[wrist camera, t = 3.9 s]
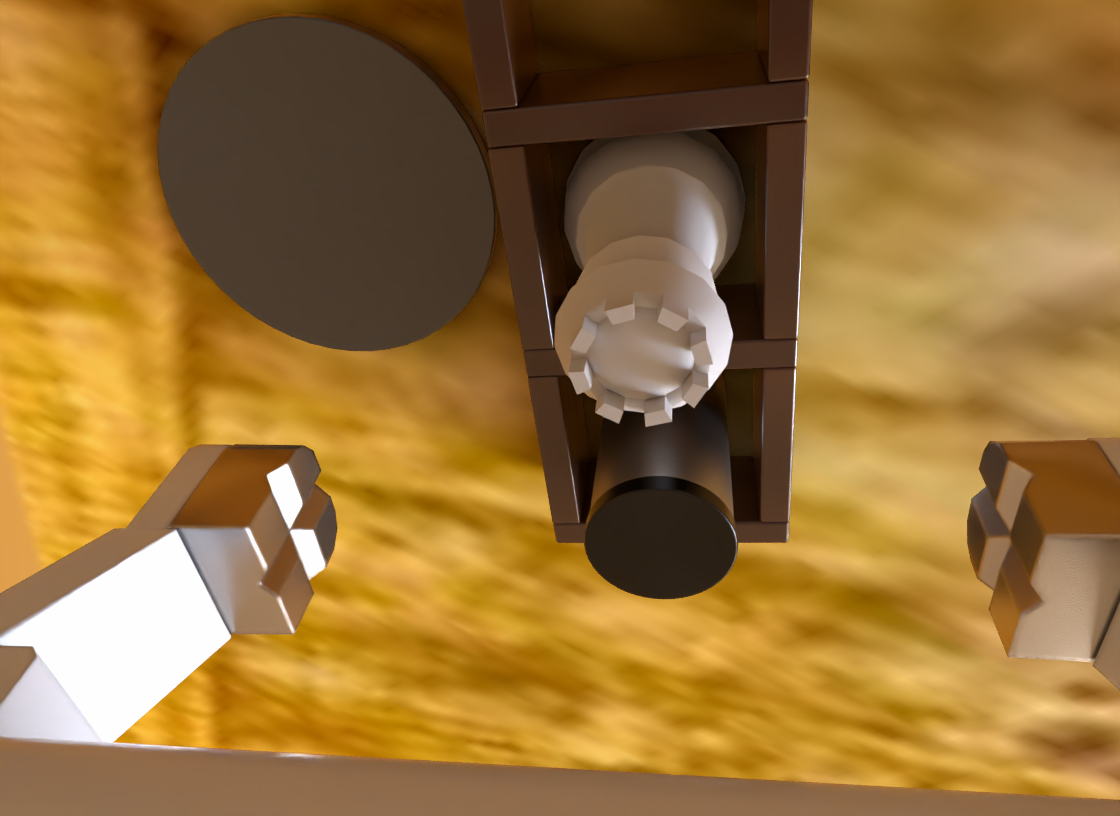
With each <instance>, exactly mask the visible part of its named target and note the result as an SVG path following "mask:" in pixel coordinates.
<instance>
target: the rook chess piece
mask: <svg viewBox="0 0 1120 816" xmlns="http://www.w3.org/2000/svg"><path fill="white" fill-rule="evenodd" d="M745 199H746V197H745V193H744V189H743V185H742V180H741V176H740V172H739V168H738V164H737V163H736V161H735V160H734V159H733V158H732V156H731V155H730V154H729V152H728V151H727V150H726V149H725V147H724V146H723V145H722V143H721V142H720V141H719V139H718V138H717V137H716V136H715V135H713V134H711V133H709V132H708V131H706V130H704V129H703V130H692V131H680V132H669V133H657V134H646V135H634V136H623V137H612V138H600V139H595V140H594V141H593V142H591V143H590V144H589V145H588V146H587V147H586V148H584V149H583V150H582V152H581V154H580V156H579V158H578V160H577V162H576V164H575V166H574V168H573V170H572V172H571V174H570V176H569V178H568V180H567V188H566V195H565V211H564V231H565V234H566V236H567V239H568V242H569V245H570V247H571V250H572V253H573V256H574V258H575V261H576V263H577V265H578V266H579V267H580V268H581V269H582V270H583V272H582V273H581V275H580V277H579V279H578V281H577V284H576V285H574V286H573V287H572V288H571V289H570V291H569V293H568V294H567V296H566V298H565V300H564V302H563V304H562V305H561V307H560V309H559V311H558V313H557V315H556V321H555V340H554V347H555V349H556V351H557V354H558V356H559V359H560V361H561V364H562V366H563V369H564V371H565V374H566V375H567V376H568V377H569V378H570V379H571V381H572V383H573V386H574V388H575V391H576V393H577V395H578V394H580V393H583V392H584V393H585V394H586V395H587V396H589V397H591V398H593V399H595V400H597V402H596V409H595V413H597V414H599V415H601V416H603V417H605V418H607V419H609V420H612V421H614V422H616V423H618V424H619V422H620V419H621V417H622V414H623V411H624V410H626V411H635V412H643V413H644V416H645V425H646V427H648V426H653V425H658V424H662V423H667V422H672V408H676V407H681V406H683V405H685V404H686V403H688V404H689V405H691V406H692V407H693V408H695V406H696V405H697V403H698V402H699V401H700V399H701V398H702V397H703V395H704V394H705V393H706V391H707V390H709V389H710V387H711V386H712V385H713V383H714V382H715V381H716V379H717V378H718V377H719V375H720V374H721V372H722V371H723V370H724V368H725V367H726V366H727V363H728V358H729V353H730V348H731V343H732V338H733V332H732V328H731V324H730V321H729V317H728V313H727V309H726V306H725V303H724V302H723V301H722V300H721V299H720V297H719V296H718V295H717V292H716V288H715V284H714V281H713V280H715V279H716V278H717V277H718V276H719V274H720V273H721V271H722V270H723V268H724V267H725V265H726V264H727V262H728V261H729V259H730V258H731V256H732V255H733V253H734V252H735V250H736V249H737V247H738V245H739V240H740V235H741V229H742V224H743V219H744V214H745V211H744V204H745Z"/></svg>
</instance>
